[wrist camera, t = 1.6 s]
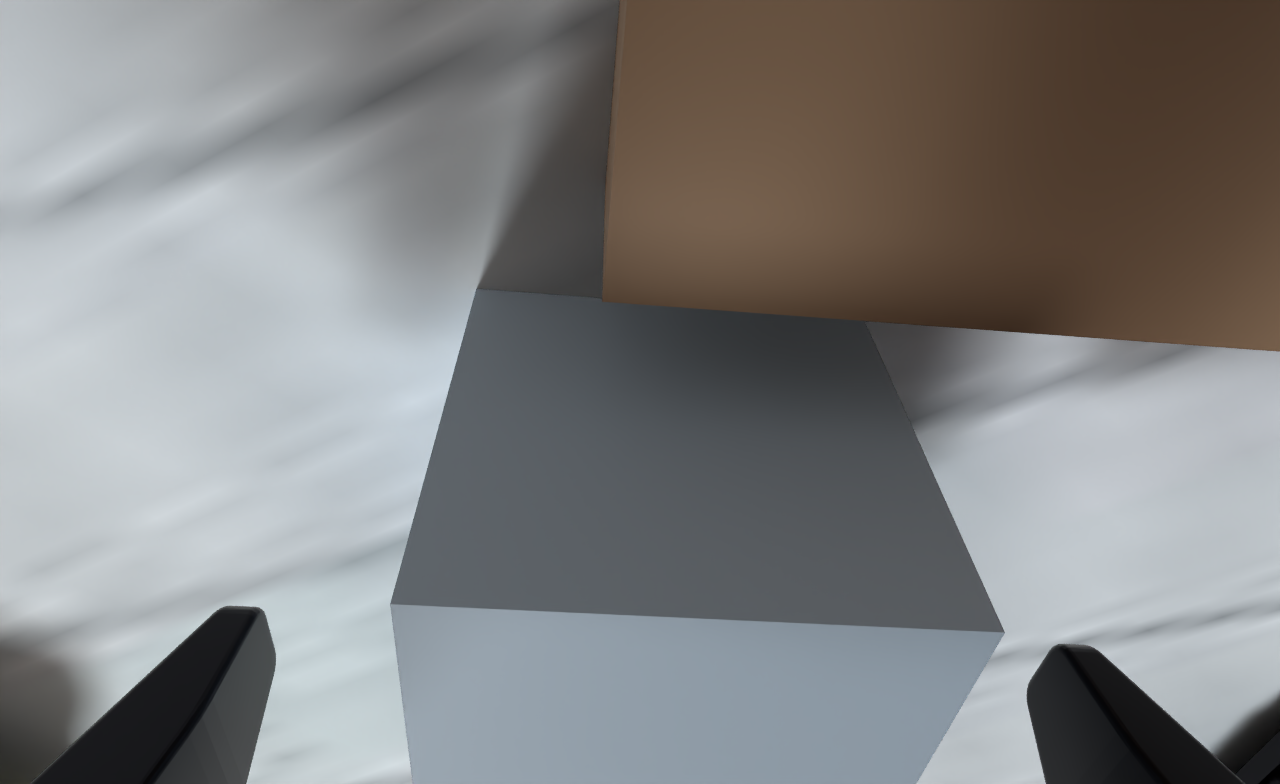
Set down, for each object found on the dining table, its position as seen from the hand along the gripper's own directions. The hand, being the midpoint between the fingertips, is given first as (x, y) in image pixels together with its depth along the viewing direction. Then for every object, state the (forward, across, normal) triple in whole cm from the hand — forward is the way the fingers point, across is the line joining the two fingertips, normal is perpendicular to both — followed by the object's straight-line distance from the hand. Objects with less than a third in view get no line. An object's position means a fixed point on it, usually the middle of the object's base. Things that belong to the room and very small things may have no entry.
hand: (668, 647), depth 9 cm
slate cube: (+3, 0, 0) cm, 3 cm away
